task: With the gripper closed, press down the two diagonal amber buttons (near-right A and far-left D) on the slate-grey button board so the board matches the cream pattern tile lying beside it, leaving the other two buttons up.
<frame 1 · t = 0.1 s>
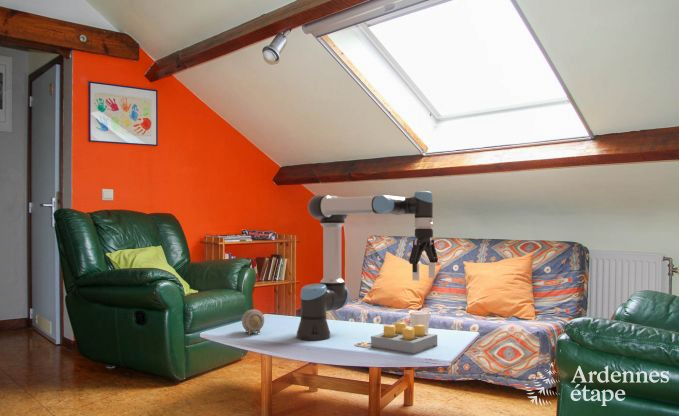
hand: (424, 279, 217), 28 cm above the table, fingers open, 13 cm apart
toy sheep: (253, 333, 245), on the table
pattern tile: (364, 345, 218), on the table
button b: (408, 334, 211), point 6 cm above the table, slide at 0.0 cm
cup: (420, 337, 236), on the table
board: (404, 346, 217), on the table
button c: (400, 329, 223), point 6 cm above the table, slide at 0.0 cm
button a: (389, 332, 216), point 6 cm above the table, slide at 0.0 cm
button d: (419, 331, 218), point 6 cm above the table, slide at 0.0 cm
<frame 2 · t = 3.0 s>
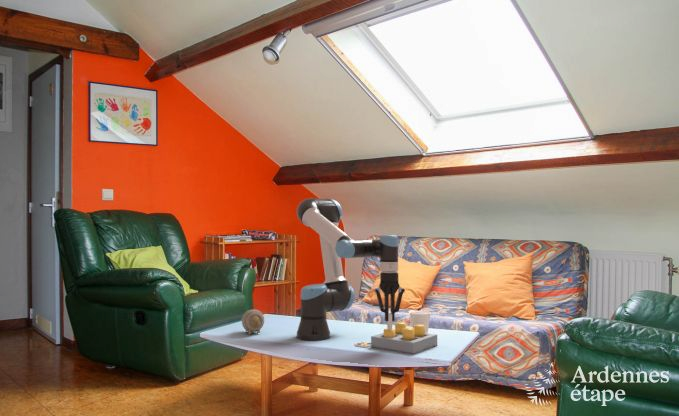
hand: (389, 329, 216), 7 cm above the table, fingers closed
button a: (389, 335, 216), point 4 cm above the table, slide at 1.4 cm, touching gripper
everything else where it was.
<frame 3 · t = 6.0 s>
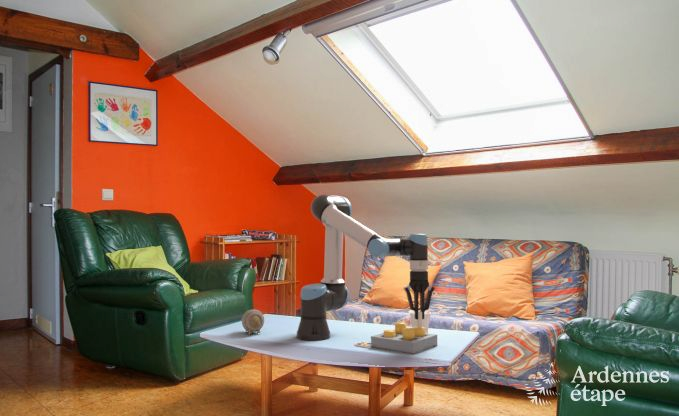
hand: (419, 327, 218), 8 cm above the table, fingers closed
button a: (389, 337, 216), point 4 cm above the table, slide at 2.0 cm
button d: (419, 333, 218), point 5 cm above the table, slide at 0.9 cm, touching gripper
everything else where it was.
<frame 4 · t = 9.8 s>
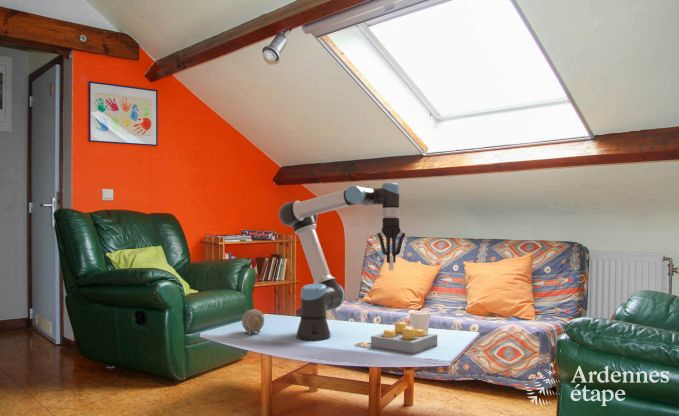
hand: (391, 270, 233), 30 cm above the table, fingers closed
button d: (419, 336, 218), point 4 cm above the table, slide at 2.0 cm
everything else where it was.
at the end: button a slide at 2.0 cm; button d slide at 2.0 cm; button b slide at 0.0 cm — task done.
